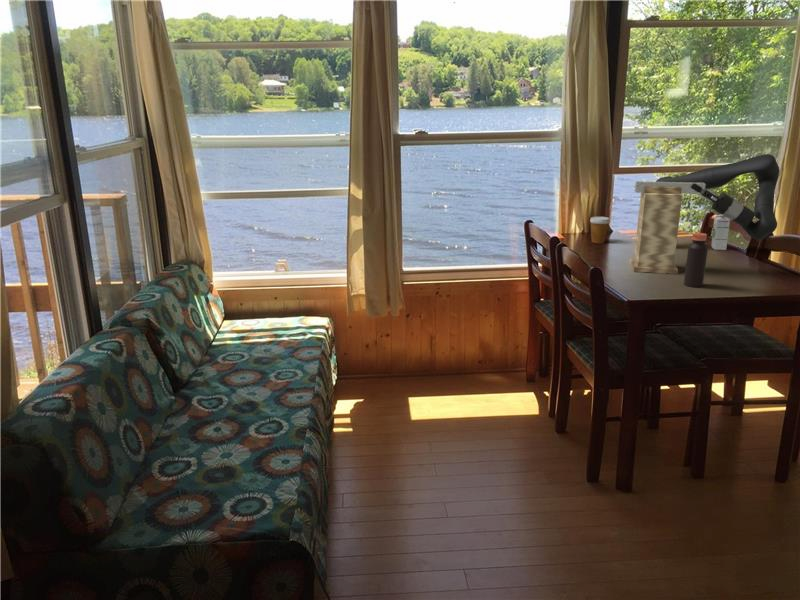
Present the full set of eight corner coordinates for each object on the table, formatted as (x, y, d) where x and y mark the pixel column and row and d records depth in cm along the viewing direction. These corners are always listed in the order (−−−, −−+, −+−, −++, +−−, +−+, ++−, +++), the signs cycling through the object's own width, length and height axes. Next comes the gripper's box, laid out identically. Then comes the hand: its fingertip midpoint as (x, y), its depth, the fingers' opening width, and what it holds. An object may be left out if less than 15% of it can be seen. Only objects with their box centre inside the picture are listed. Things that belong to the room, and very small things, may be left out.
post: (670, 264, 284) (680, 184, 273) (677, 274, 270) (688, 189, 259) (629, 263, 287) (637, 183, 277) (633, 272, 273) (642, 188, 263)
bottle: (687, 287, 251) (694, 236, 245) (680, 282, 258) (687, 232, 252) (705, 287, 251) (713, 235, 245) (698, 282, 258) (705, 232, 252)
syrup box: (726, 250, 309) (731, 219, 305) (713, 249, 310) (717, 219, 306) (723, 247, 315) (727, 217, 310) (710, 246, 316) (714, 216, 311)
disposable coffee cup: (610, 244, 323) (612, 219, 319) (591, 244, 323) (593, 219, 319) (605, 239, 332) (607, 216, 328) (586, 239, 332) (587, 216, 329)
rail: (701, 192, 268) (703, 182, 266) (704, 194, 264) (705, 183, 263) (634, 191, 273) (635, 181, 271) (636, 192, 269) (637, 182, 268)
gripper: (729, 196, 271) (693, 174, 271) (738, 201, 257) (701, 178, 258) (717, 211, 273) (681, 190, 274) (726, 217, 260) (688, 195, 260)
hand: (691, 184), depth 266 cm, fingers closed on rail, 4 cm apart
